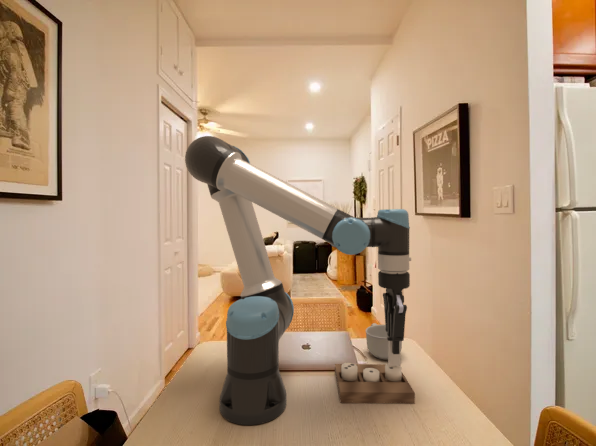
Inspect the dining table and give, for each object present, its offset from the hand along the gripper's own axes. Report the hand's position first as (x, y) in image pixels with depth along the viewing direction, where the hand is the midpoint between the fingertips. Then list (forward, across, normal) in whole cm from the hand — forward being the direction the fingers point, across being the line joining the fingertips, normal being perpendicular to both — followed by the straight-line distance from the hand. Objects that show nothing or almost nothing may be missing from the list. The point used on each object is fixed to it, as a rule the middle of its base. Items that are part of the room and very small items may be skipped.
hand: (394, 364), depth 81 cm
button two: (+3, 0, 0) cm, 3 cm away
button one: (+5, 0, +6) cm, 7 cm away
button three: (+3, 0, +11) cm, 12 cm away
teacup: (+6, +20, -2) cm, 21 cm away
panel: (+6, 0, +6) cm, 8 cm away
